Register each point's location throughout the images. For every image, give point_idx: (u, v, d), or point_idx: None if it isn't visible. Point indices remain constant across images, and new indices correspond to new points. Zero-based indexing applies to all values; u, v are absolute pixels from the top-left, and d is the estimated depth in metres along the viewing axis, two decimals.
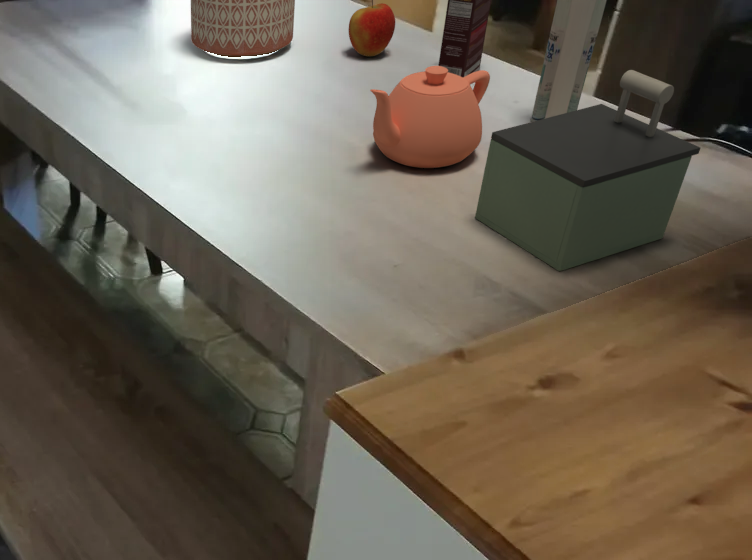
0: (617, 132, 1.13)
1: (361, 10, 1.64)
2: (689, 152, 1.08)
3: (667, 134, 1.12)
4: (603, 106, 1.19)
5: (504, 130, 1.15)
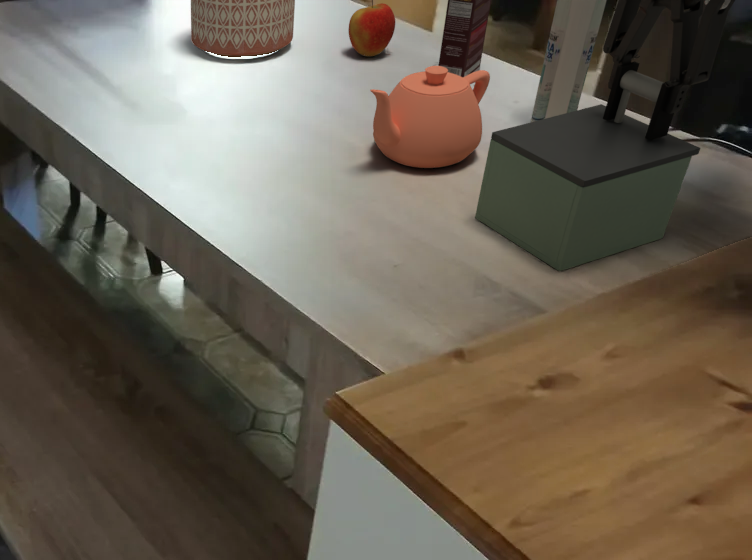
0: (617, 132, 1.13)
1: (361, 10, 1.64)
2: (689, 153, 1.08)
3: (667, 134, 1.12)
4: (603, 106, 1.19)
5: (504, 130, 1.15)
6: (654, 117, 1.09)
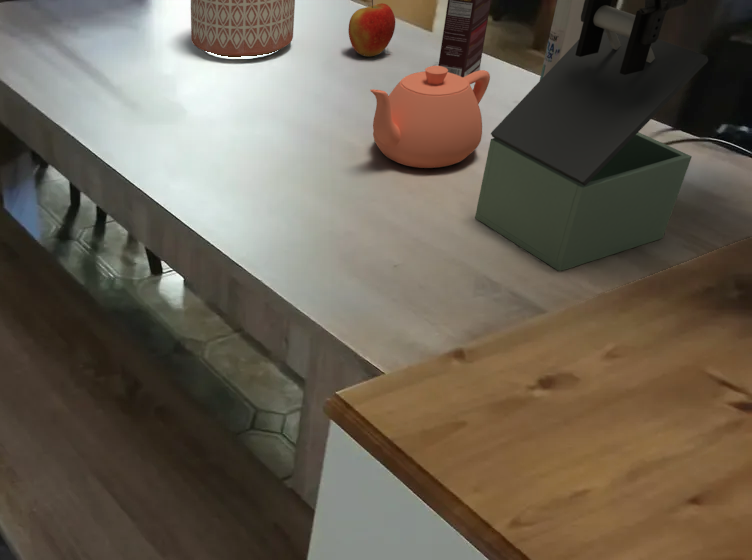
0: (615, 69, 1.07)
1: (361, 10, 1.64)
2: (695, 70, 1.01)
3: (670, 46, 1.03)
4: None
5: (501, 124, 1.14)
6: (629, 49, 1.01)
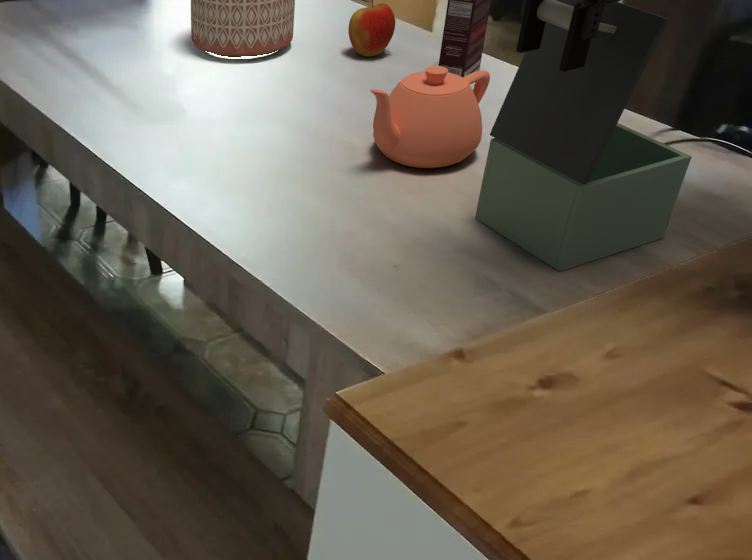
0: None
1: (361, 10, 1.64)
2: (658, 35, 0.95)
3: (628, 10, 0.98)
4: None
5: (496, 123, 1.14)
6: (568, 45, 0.97)
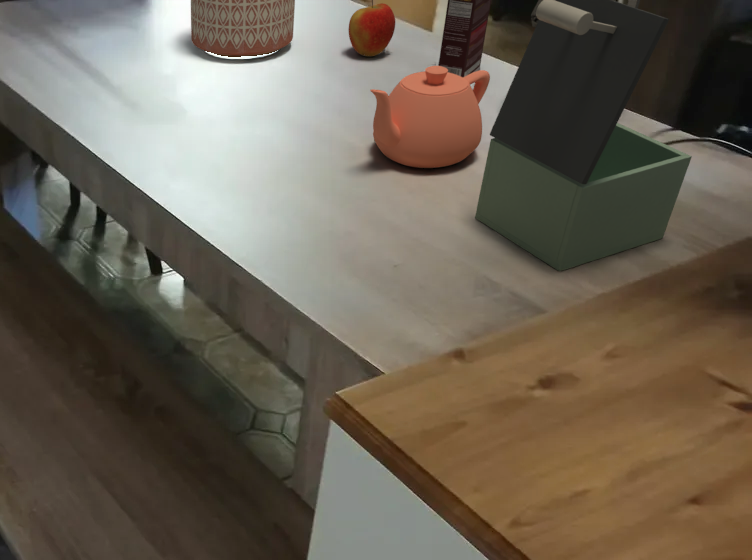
0: (583, 45, 1.02)
1: (361, 10, 1.64)
2: (657, 35, 0.95)
3: (628, 10, 0.98)
4: None
5: (496, 123, 1.14)
6: None
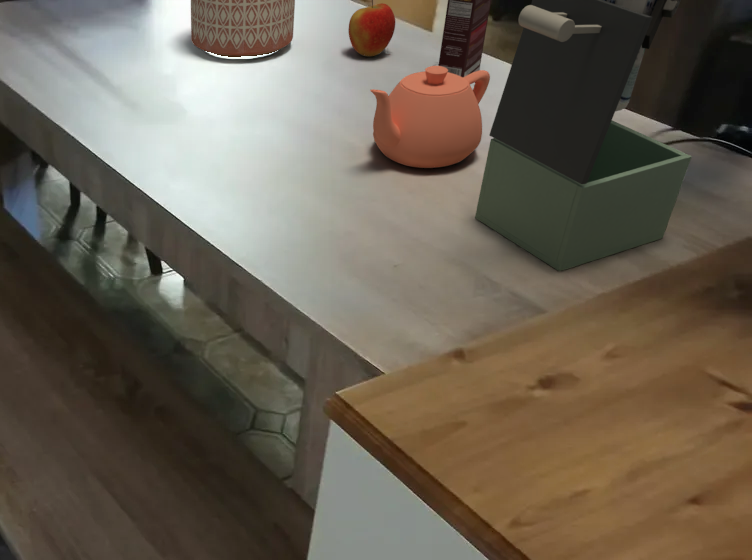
0: (571, 45, 1.02)
1: (361, 10, 1.64)
2: (642, 34, 0.94)
3: (611, 9, 0.96)
4: None
5: (495, 123, 1.13)
6: None
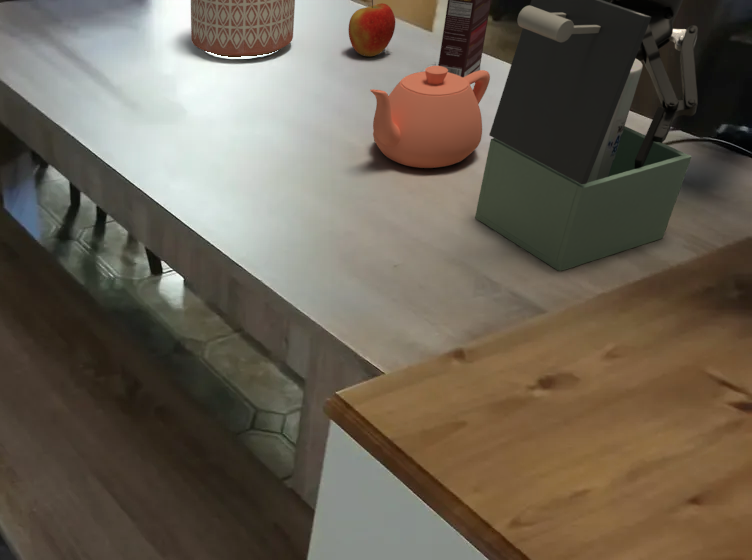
0: (570, 45, 1.02)
1: (361, 10, 1.64)
2: (641, 34, 0.94)
3: (610, 9, 0.96)
4: None
5: (495, 123, 1.13)
6: None
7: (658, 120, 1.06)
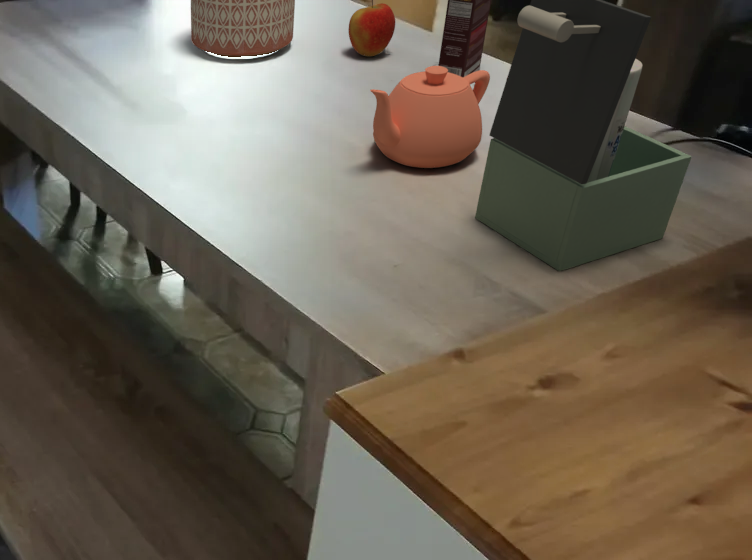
0: (570, 45, 1.02)
1: (361, 10, 1.64)
2: (641, 34, 0.94)
3: (610, 9, 0.96)
4: None
5: (495, 123, 1.13)
6: None
7: None
